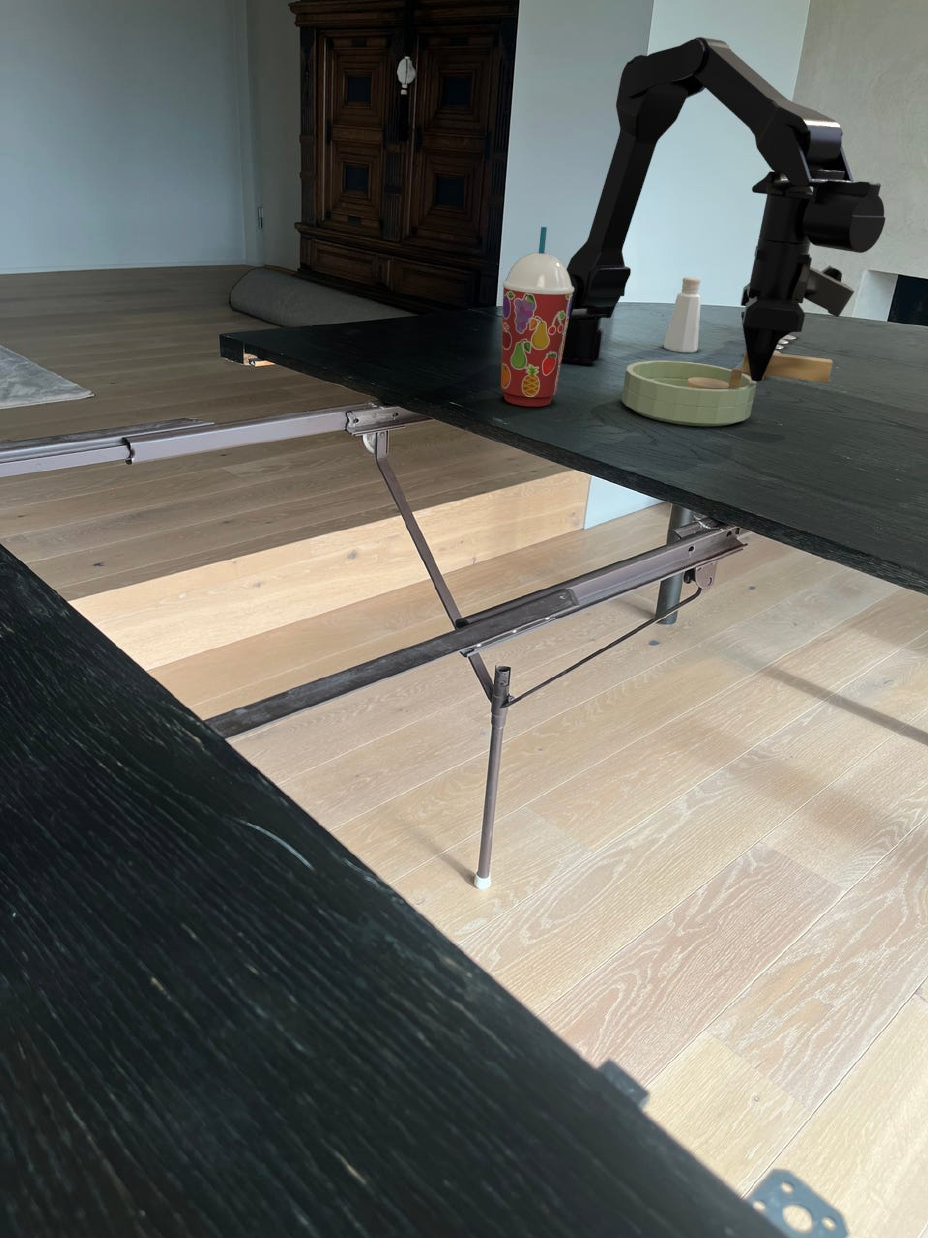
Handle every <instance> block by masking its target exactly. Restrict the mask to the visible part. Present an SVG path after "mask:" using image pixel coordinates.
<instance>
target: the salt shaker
mask: <svg viewBox="0 0 928 1238" xmlns="http://www.w3.org/2000/svg"><path fill="white" fill-rule="evenodd" d="M701 282H702V280H701V279H700V278H699V277H694V276H684V277H683V278H682V284H681V292H679V293H677V295H676V298H675V300H674V301H675V302H674V305H673V309H672V313H671V317H670V319H669V324H668V327H667V332H666V336H665V340H664V343H663V348H664V349H665V350H667V351H670V352H677V353H695V352H697V351H698V347H699V333H700V317H701V305H702V301H701V300H702V296H701V295H700V294H698V293H699V289H700V284H701Z"/></svg>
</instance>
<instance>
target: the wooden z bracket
mask: <svg viewBox="0 0 928 1238" xmlns="http://www.w3.org/2000/svg"><path fill="white" fill-rule="evenodd" d="M833 365H834V362H833V360H832V359H829V358H820V357H813V356H806V355H798V354H797V355H796V354H789V353H781V352H780V353H773V355H772V357H771V360H770V362H769V364H768V366H767V368H766V371H765V373H764V376H769V377H770V376H771V377H778V378H785V379H794V380H802V381H810V382H817V383H818V382H819V383H826V384H828V383H829V380H830V376H831V372H832V368H833ZM731 370H732V371H731V376H730V381H729V383H727V382H724V381H721V380H717V379H711V378H701V377H696V378H689V379H688V380H687V385H686V387H690V388H698V389H730V386H732V387H739V385H740V380H741V376H742V372H745V373H750V368H749V362H748V355H747V350H746V349H745V350H744V355H743V359H742V364H741V368H738V367H732V368H731Z"/></svg>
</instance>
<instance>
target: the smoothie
mask: <svg viewBox="0 0 928 1238" xmlns="http://www.w3.org/2000/svg"><path fill="white" fill-rule="evenodd" d="M547 229H548V227H547V226H541V227H540V235H539V244H538V245H539V246H538V251H536V252H531V253H529V254H526V255H524V256H523V257H521V258H519V259H518V260H517V261H516V262H515V263H514V264H513V265H512V267H511V268H510V270H509V272H508V274H507V277H506V278H505V280H503V281H502V287H503V289H502V321H501V323H502V325H501V329H502V330H501V331H502V334H501V369H500V390H501V391H502V392H503V394H504V395H503V396H504V400H505V401H506V402H507V403H509V404H511V405H513V406H514V405H515V406H518V407H525V408H540V407H546V406H548V405H550V404H551V402H552V398H553V396H555V395H556V394H557V390H558V389H557V388H558V383H559V380H560V379H559V378H560V374H561V373H560V371H561V366H562V362H561V361H562V355H563V349H564V343H565V338H566V332H567V326H568V320H569V314H570V308H571V302H572V296H573V292H574V287H573V286H572V285H571V281H570V277H569V274H568V272H567V270H566V269H567V267H566V266H565V265H564V264H563V262H562V261H561V260H559V258H557V257H556V256H554V255H552V254H550V253H548V252H545V251H546V242H547V241H546V240H547V231H548V230H547Z"/></svg>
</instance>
